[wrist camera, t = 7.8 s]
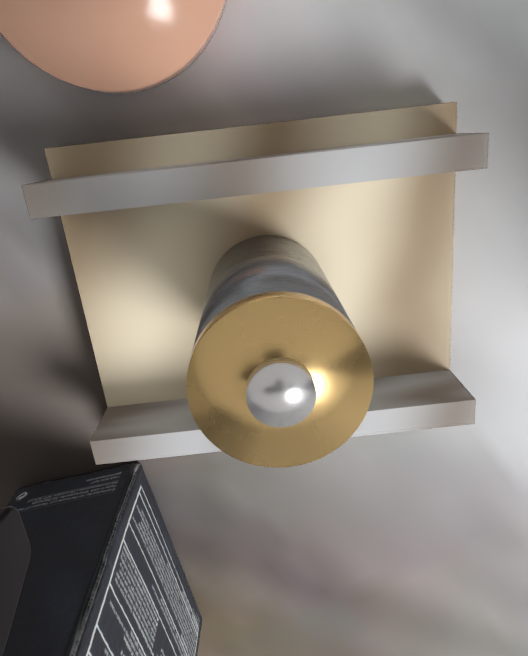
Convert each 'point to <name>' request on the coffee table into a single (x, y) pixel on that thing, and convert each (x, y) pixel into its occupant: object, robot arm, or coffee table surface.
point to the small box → (100, 572)
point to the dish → (111, 38)
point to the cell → (276, 358)
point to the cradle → (254, 220)
